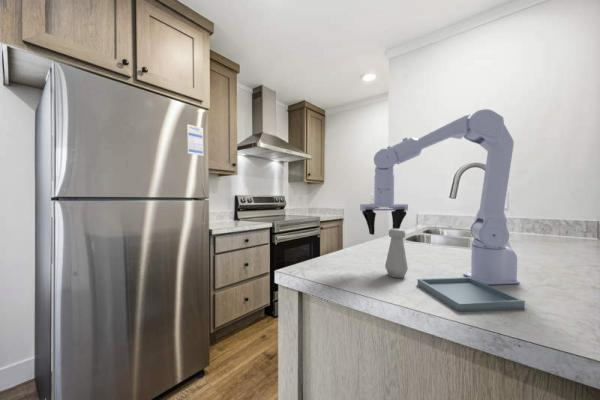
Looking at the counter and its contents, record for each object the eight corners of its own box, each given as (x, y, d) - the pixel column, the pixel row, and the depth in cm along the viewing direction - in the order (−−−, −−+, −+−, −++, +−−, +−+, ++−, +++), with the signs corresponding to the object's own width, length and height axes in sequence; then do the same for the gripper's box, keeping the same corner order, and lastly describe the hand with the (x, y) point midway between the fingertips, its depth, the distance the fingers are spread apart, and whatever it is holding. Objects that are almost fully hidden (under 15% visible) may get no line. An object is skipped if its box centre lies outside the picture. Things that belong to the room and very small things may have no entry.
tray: (469, 282, 63) (469, 277, 63) (524, 308, 49) (524, 300, 49) (417, 285, 61) (417, 279, 61) (459, 311, 47) (459, 304, 47)
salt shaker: (409, 279, 65) (410, 230, 65) (386, 278, 66) (387, 229, 66) (404, 273, 70) (405, 228, 70) (383, 271, 72) (384, 227, 72)
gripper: (399, 190, 80) (399, 231, 80) (356, 190, 79) (356, 232, 79) (411, 189, 73) (411, 235, 73) (364, 189, 72) (364, 236, 72)
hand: (383, 234), depth 76 cm, fingers open, 7 cm apart
